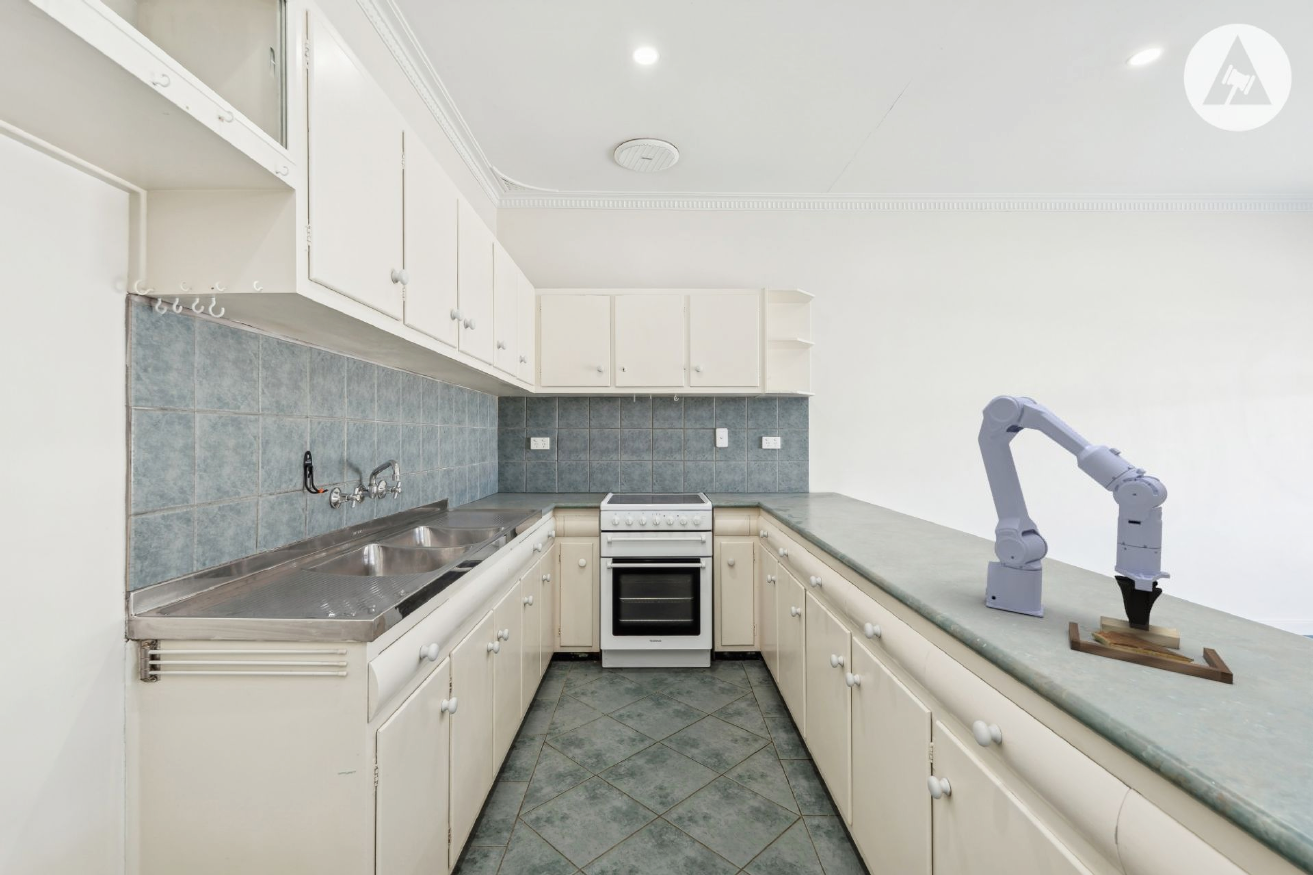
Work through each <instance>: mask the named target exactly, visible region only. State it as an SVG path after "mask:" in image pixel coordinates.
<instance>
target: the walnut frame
mask: <svg viewBox="0 0 1313 875" xmlns="http://www.w3.org/2000/svg"><path fill="white" fill-rule="evenodd" d="M1079 631H1080V630H1079V624H1078V622H1073V621H1069V622H1068V634H1069V644H1070V650H1073V651H1074V650H1075V651H1078V652H1083V653H1088V654H1092V655H1098V656H1101V657H1102V656H1103V657H1106V658H1112V659H1115V660H1119V661H1125V662H1130V663H1133V664H1138V665H1143V666H1148V667H1151V668H1157V669H1161V670H1166V671H1169V672H1170V671H1171V672H1173V673H1174V672H1176V673H1179V674H1185V675H1188V676H1189V675H1190V676H1194V677H1198V678H1203V679H1206V680H1212V681H1216V682H1221V683H1226V684H1231V685H1233V684H1234V683H1233V682H1234V674H1233V672H1232V671H1231V669H1230V668H1229V667H1228V666H1227V664H1226V662H1225V661H1224V660H1223V659H1222V658H1221V656H1220V655H1219V654H1218V653H1217V651H1216V649H1214V648H1209V647H1206V646H1205V647H1204V646H1203V650H1202V657H1203V658H1204V659H1205V661H1206V663H1207V664H1208V665H1202V664H1199V663H1195V662H1185V661H1180V660H1175V659H1170V658H1166V657H1161V656H1156V655H1151V654H1146V653H1141V652H1136V651H1132V650H1127V649H1122V648H1117V647H1112V646H1107V645H1104V644H1103V643H1096V642H1092V641H1088V640H1082V639H1081V637H1080V632H1079Z"/></svg>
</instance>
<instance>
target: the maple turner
mask: <svg viewBox="0 0 1313 875" xmlns="http://www.w3.org/2000/svg"><path fill="white" fill-rule="evenodd" d="M1150 616H1151V614H1150V615H1149V618H1148V621H1147V623H1146V625H1140V624H1134V623H1130V622H1129V620H1125V619H1119V618H1116V617H1115V618H1114V617H1108V616H1103V615H1100V619H1099V627H1100V631H1115V632H1119V633H1123V634H1130V635H1132V636H1135V637H1138V638H1141V639H1143V640H1146V641H1148V642H1151V643H1153V644H1156V645H1158V646H1161V647H1167V648H1172V649H1175V650H1180V643H1181V637H1180V635H1179V632H1178V630H1177V629H1175V628H1171V627H1170V628H1169V627H1164V626H1159V625H1158V626H1157V625H1153V624H1150V619H1151V618H1150Z"/></svg>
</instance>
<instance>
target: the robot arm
mask: <svg viewBox="0 0 1313 875" xmlns="http://www.w3.org/2000/svg"><path fill="white" fill-rule="evenodd" d="M982 416H983V418H982V423H981V425H980V429H979V432H978V437H977V443H978V446H979V450H980V454H981V458H982V462H983V464H984V469H985V473H986V476H987V481H988V483H989V484H988V486H989V488H990V491H991V496H992V500H993V504H994V507H995V512H996V515H997V518H998V522H997V524H996V526H995V529H994V533H995V543H994V553H995V555H996V557H997V559H998V560H999V561H992V560H991V561H988V562H987V563H988V564H987V573H986V574H987V575H986V576H987V578H986V587H985V596H986V603H985V606H986V607H988V608H995V609H997V610H1004V611H1009V612H1015V613H1021V614H1025V615H1031V616H1035V617H1042V618H1043V617H1044V610H1045V609H1044V607H1045V606H1044V605H1045V604H1043V603H1042V592H1043V591H1042V590H1043V564H1042V562H1041V560H1043V559H1044V558H1045V557H1046V556H1047V554H1048V552H1049V551H1048V550H1049V546H1048V543H1047V540H1046V539H1045V538H1044V537H1043V535H1041V533H1040V531H1039V529H1038V525H1037V524H1036V523H1035V522H1034V520H1033V519H1032V518H1031V517H1030V515H1029V511H1028V508H1027V505H1026V502H1025V498H1024V494H1023V491H1022V490H1023V489H1022V488H1021V487H1022V486H1021V483H1020V479H1019V475H1018V472H1017V468H1016V465H1015V461H1014V457H1013V455H1012V449H1011V446H1010V443H1011V442H1012V440H1014V438H1015V437H1016V436H1017V434H1019V432H1021V431H1022V430H1024V429H1029V430H1037V431H1040V432H1041V433H1043V434H1044V435H1046V436H1047V437H1048V438H1049V439H1051V440H1052V441H1054V442H1055V443H1057V444H1058V445H1059V446H1060V447H1062V448H1064V450H1066V451H1068V452H1069V453H1070V454H1072V455H1073V456H1075V457H1076V460H1077V463H1076V464H1077V467H1078V468H1079V469H1080V470H1081V471H1082V472H1084V473H1085V474H1086V475H1087V476H1089V477H1090V478H1091V479H1093V480H1094V481H1096V483H1098V484H1099V485H1101V487H1102V488H1104V489H1106V490H1107V491H1108V492H1112V496H1113V499H1114V501H1115V503H1116V504H1117V505H1118V517H1117V527H1116V528H1117V535H1116V536H1117V537H1116V558H1115V561H1116V562H1115V565H1114V571H1115V572H1116V573H1117V574H1120V575H1117V574H1116V575H1114V579H1115V581H1116V583H1117V585H1118V587H1119V589H1120V592H1121V595H1122V596H1121V597H1122V600H1123V607H1124V611H1125V615H1126V617H1127V620H1128V621H1129V622H1130V623H1134V624H1140V625H1146V623H1147V621H1148V618H1149V615H1150V616H1151V613H1152V612H1151V611H1152V609H1153V606H1154V604H1155V602H1156V600H1157V599H1159V597H1160V596H1161V595H1162V593H1163V588H1161V587H1157V586H1158V585H1159V582H1158V580H1160V579H1162V578H1163V579H1170V578H1171V574H1170V573H1169V572H1166V571H1162V570H1161V568H1162V543H1163V542H1162V539H1163V520H1162V516H1163V512H1162V510H1163V507H1162V506H1161V505H1162V504H1164V503H1165V501H1166V500H1167V498H1168V490H1167V488H1166V486H1165V485H1164V484H1163V483H1162V482H1161V481H1160V479H1159V478H1157V477H1155V476H1152V475H1145V474H1147V473H1146V472H1147V471H1146V470H1145V469H1143V468H1141V467H1140V468H1137V467H1136V466H1134V465H1133V464H1131V463H1130V462H1129V461H1128V460H1126V459H1124V458H1123V457H1122V456H1121V455H1120V454H1121V453H1122V452H1121V451H1120V450H1119V449H1118V448H1116V447H1111V448H1110V447H1108V445H1103V444H1102V445H1093V444H1092V443H1090V442H1089V441H1088V440H1087V439H1086V438H1084V436H1082V435H1081V434H1079V433H1078V432H1077V431H1075V430H1074V429H1073V428H1072V427H1071V426H1069V425H1068V424H1067V423H1066V422H1065V421H1063V420H1062V419H1061V418H1060V417H1058V416H1057V415H1056V414H1055V413H1054V412H1052V411H1051V410H1050V409H1048V408H1047V407H1046V406H1044V405H1042V404H1038V403H1037V401H1036V400H1034V399H1032V398H1031V397H1027V396H1012V395H1010V394H1009V395H1008V394H1002V395H998V396H996V397H994V398H992V399H991V400H990V402H988V404H987V405H986V406H985V407H984V408H983V410H982Z"/></svg>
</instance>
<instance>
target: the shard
mask: <svg viewBox="0 0 1313 875" xmlns="http://www.w3.org/2000/svg"><path fill="white" fill-rule="evenodd" d="M1091 636H1092V637H1093V638H1094V640H1096V641H1098V642H1100V644H1103V645H1107V646H1112V647H1117V648H1122V649H1127V650H1132V651H1136V652H1141V653H1146V654H1151V655H1156V656H1161V657H1166V658H1170V659H1175V660H1180V661H1185V662H1190V663H1193V662H1194V661H1195V659H1193V658H1190V657H1188V656H1185V655H1183V654H1180V653H1178V652H1174V651H1172V650H1170V649H1167V648H1165V647H1164V646H1161V645H1156V644H1153V643H1151V642H1148V641H1146V640H1143V639H1141V638H1138V637H1135V636H1132V635H1130V634H1123V633H1119V632H1115V631H1101V630H1100V631H1093V632H1091Z"/></svg>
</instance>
